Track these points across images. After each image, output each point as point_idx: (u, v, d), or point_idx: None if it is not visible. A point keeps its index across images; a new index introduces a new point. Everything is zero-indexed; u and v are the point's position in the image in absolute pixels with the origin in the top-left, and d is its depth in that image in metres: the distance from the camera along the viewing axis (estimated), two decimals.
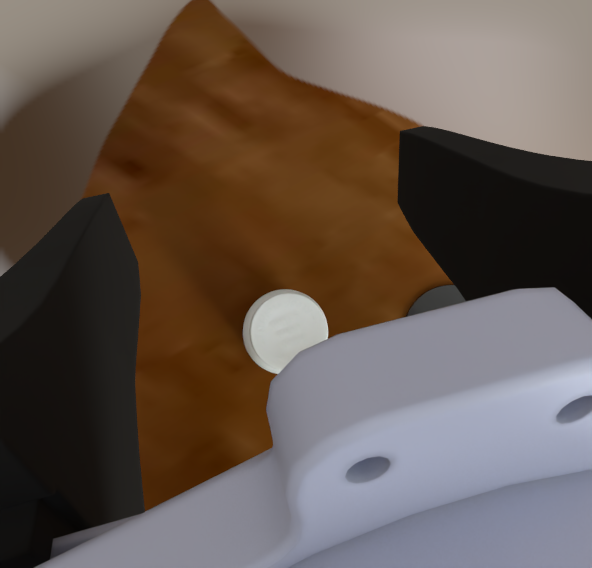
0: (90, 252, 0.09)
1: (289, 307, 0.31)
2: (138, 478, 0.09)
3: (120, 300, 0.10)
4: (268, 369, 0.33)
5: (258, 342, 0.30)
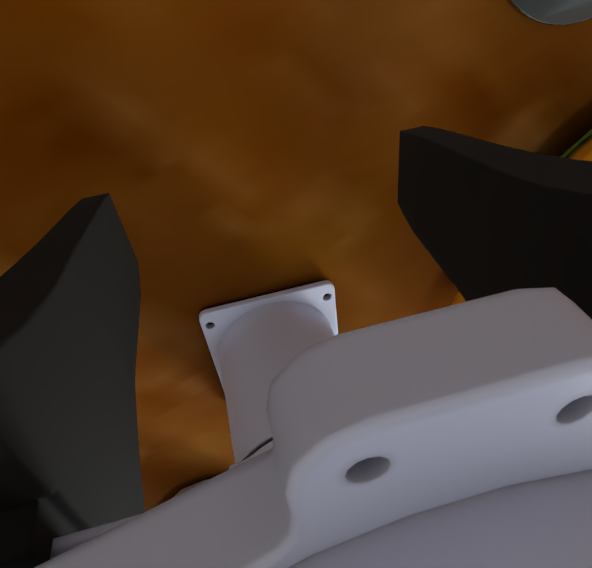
0: (90, 252, 0.09)
1: None
2: (138, 478, 0.09)
3: (120, 300, 0.10)
4: None
5: None
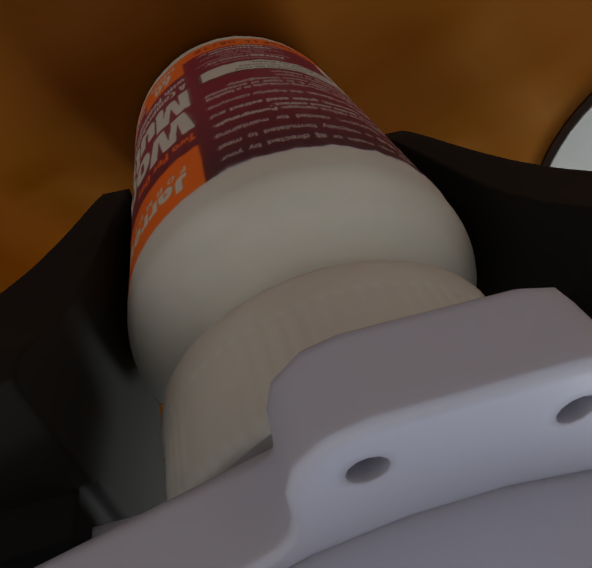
0: (115, 246, 0.09)
1: None
2: (163, 471, 0.09)
3: None
4: None
5: None
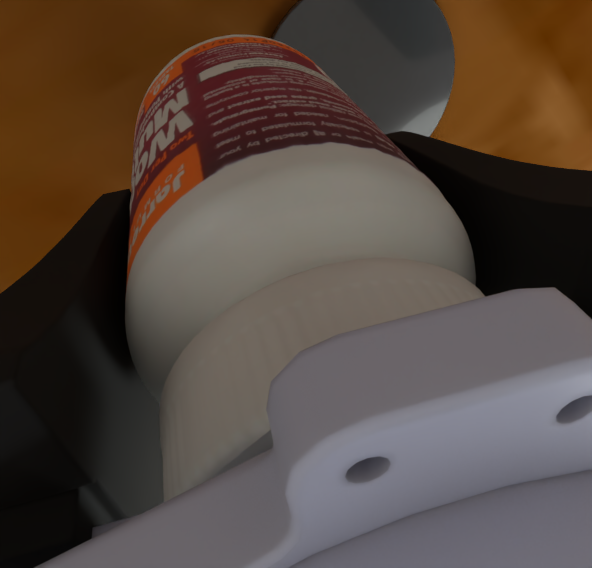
0: (115, 246, 0.09)
1: None
2: None
3: None
4: None
5: None
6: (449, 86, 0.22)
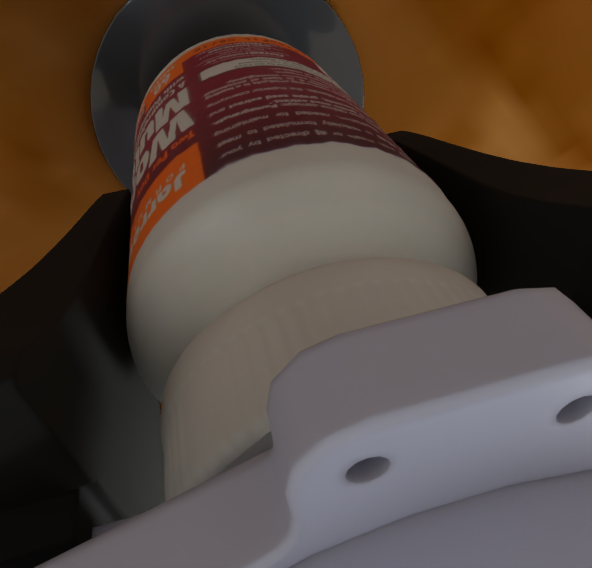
0: (115, 247, 0.09)
1: None
2: (163, 471, 0.09)
3: None
4: None
5: None
6: None
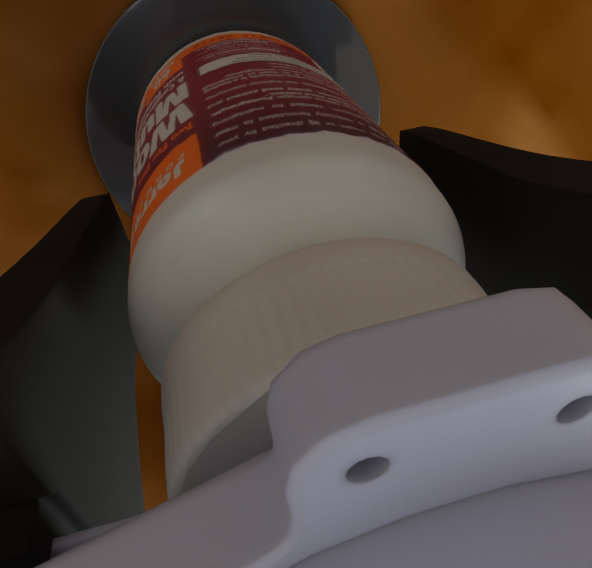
0: (90, 252, 0.09)
1: None
2: (138, 478, 0.09)
3: (120, 300, 0.10)
4: None
5: None
6: None
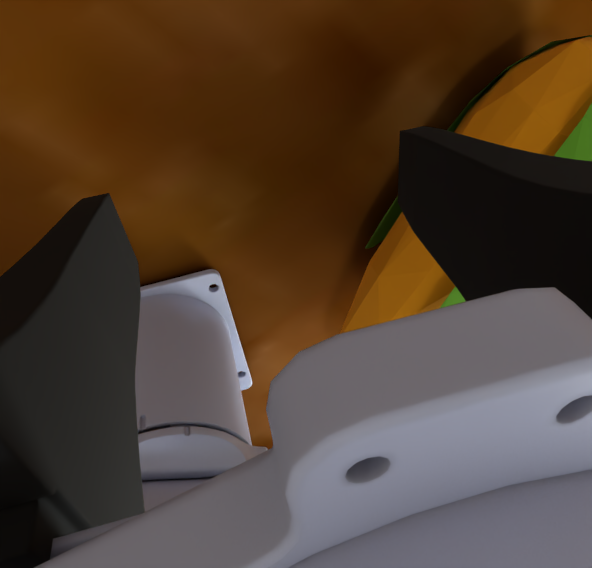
0: (90, 252, 0.09)
1: None
2: (138, 478, 0.09)
3: (120, 300, 0.10)
4: None
5: None
6: None
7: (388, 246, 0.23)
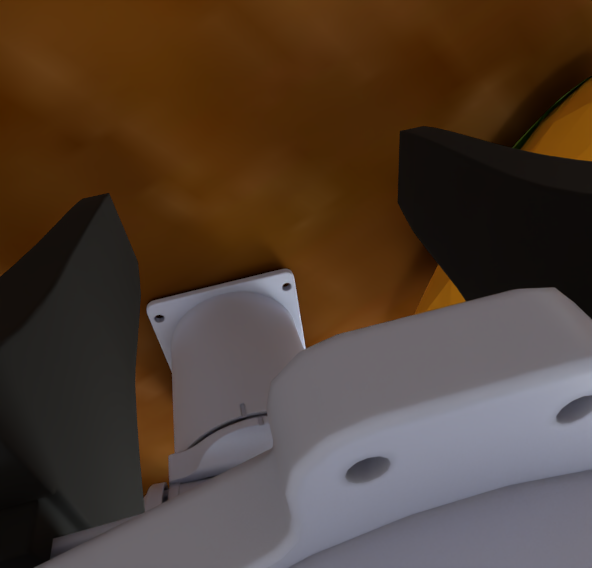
0: (90, 252, 0.09)
1: None
2: (138, 478, 0.09)
3: (120, 300, 0.10)
4: None
5: None
6: None
7: None
